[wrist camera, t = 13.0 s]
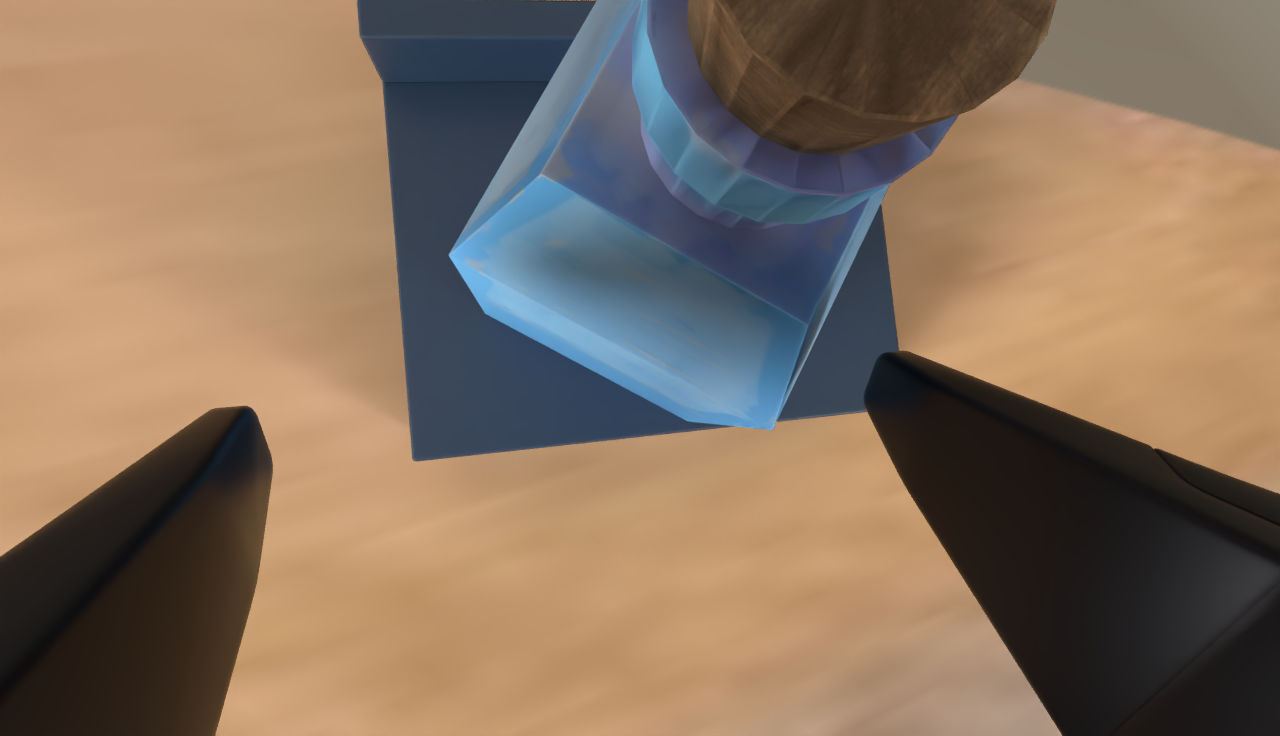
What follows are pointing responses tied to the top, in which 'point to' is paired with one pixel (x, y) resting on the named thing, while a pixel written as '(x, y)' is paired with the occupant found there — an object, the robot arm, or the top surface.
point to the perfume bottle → (722, 181)
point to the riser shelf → (448, 195)
